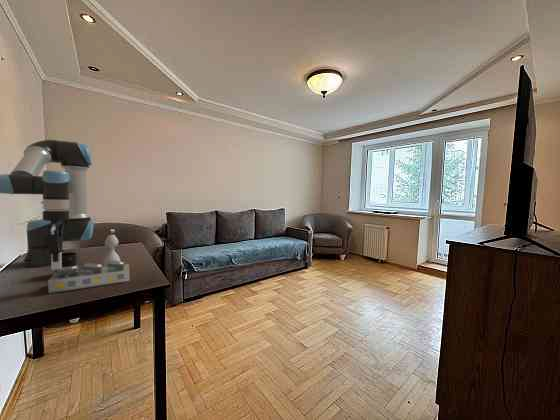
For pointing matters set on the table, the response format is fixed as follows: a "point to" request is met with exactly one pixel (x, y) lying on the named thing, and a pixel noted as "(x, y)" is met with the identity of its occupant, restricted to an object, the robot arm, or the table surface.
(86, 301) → the table surface
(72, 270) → the switch
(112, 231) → the figurine
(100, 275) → the console
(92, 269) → the switch
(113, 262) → the switch
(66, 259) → the mug
